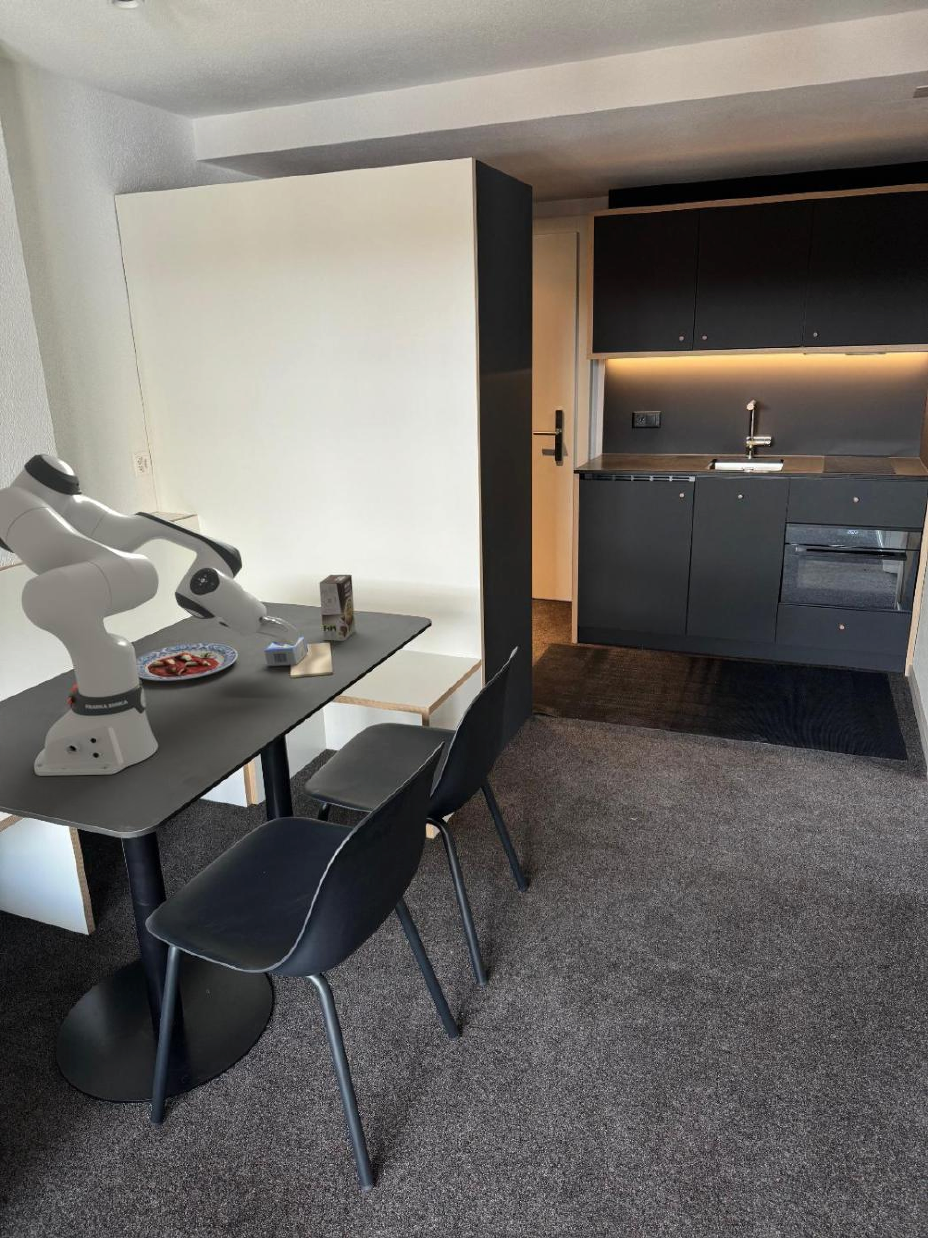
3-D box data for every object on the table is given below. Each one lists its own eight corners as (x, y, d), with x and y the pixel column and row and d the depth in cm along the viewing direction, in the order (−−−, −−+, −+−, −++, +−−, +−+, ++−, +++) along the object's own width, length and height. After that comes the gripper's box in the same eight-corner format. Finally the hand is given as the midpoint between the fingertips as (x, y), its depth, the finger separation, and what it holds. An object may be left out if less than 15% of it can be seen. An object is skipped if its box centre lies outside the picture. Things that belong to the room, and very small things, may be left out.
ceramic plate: (156, 697, 201) (154, 684, 200) (115, 668, 220) (113, 657, 219) (257, 668, 217) (255, 656, 216) (210, 644, 236) (209, 633, 235)
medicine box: (263, 650, 216) (276, 637, 224) (267, 667, 217) (280, 653, 225) (293, 648, 214) (305, 635, 222) (297, 665, 216) (308, 651, 223)
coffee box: (345, 641, 234) (341, 583, 229) (322, 640, 235) (318, 582, 230) (356, 630, 242) (352, 574, 237) (334, 629, 244) (329, 573, 239)
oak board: (290, 677, 209) (290, 675, 209) (291, 647, 230) (291, 645, 230) (332, 673, 211) (332, 671, 211) (329, 644, 232) (329, 642, 232)
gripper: (284, 610, 199) (317, 638, 210) (223, 597, 210) (258, 625, 221) (272, 634, 197) (306, 661, 208) (211, 620, 208) (246, 647, 219)
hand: (281, 642), depth 215 cm, fingers closed
